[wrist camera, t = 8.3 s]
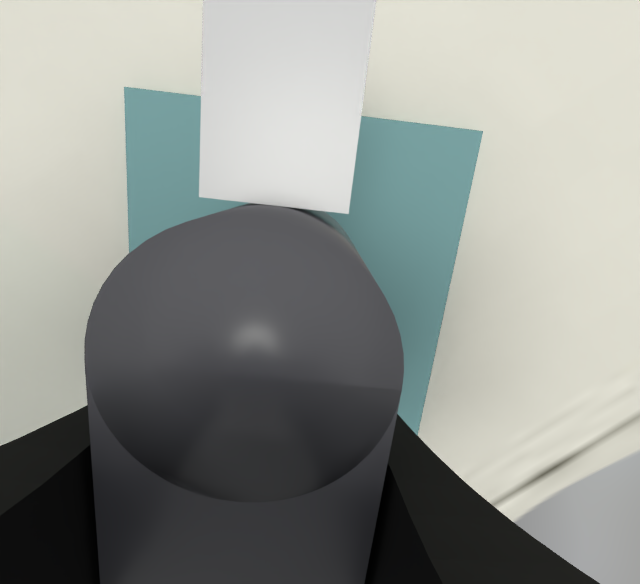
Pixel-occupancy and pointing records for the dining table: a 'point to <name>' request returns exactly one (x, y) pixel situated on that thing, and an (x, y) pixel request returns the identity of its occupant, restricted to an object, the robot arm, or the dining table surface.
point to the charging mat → (360, 224)
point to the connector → (251, 330)
